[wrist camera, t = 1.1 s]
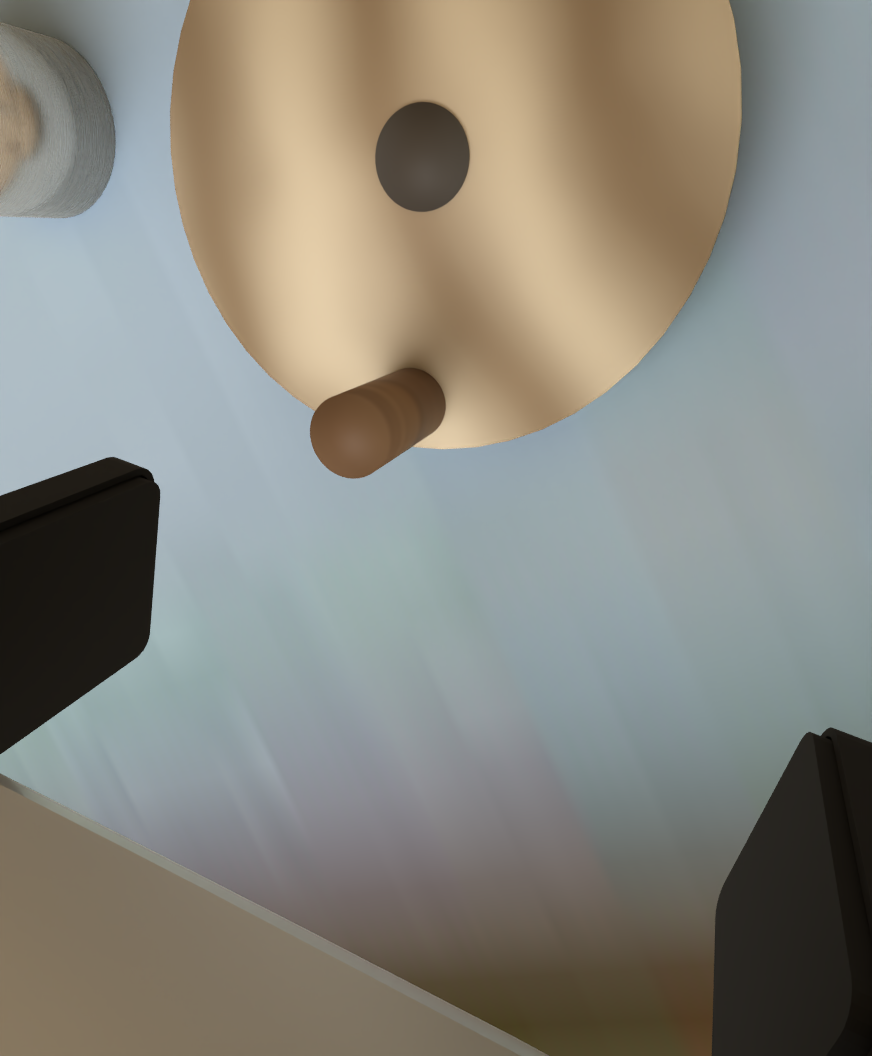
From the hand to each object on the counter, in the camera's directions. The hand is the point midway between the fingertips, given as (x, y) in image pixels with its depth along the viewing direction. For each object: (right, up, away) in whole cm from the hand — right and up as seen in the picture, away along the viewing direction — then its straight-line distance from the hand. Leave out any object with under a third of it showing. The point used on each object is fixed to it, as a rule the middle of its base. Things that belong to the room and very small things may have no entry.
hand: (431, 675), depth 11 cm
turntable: (0, +14, +14) cm, 20 cm away
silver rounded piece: (-15, +18, +20) cm, 30 cm away
